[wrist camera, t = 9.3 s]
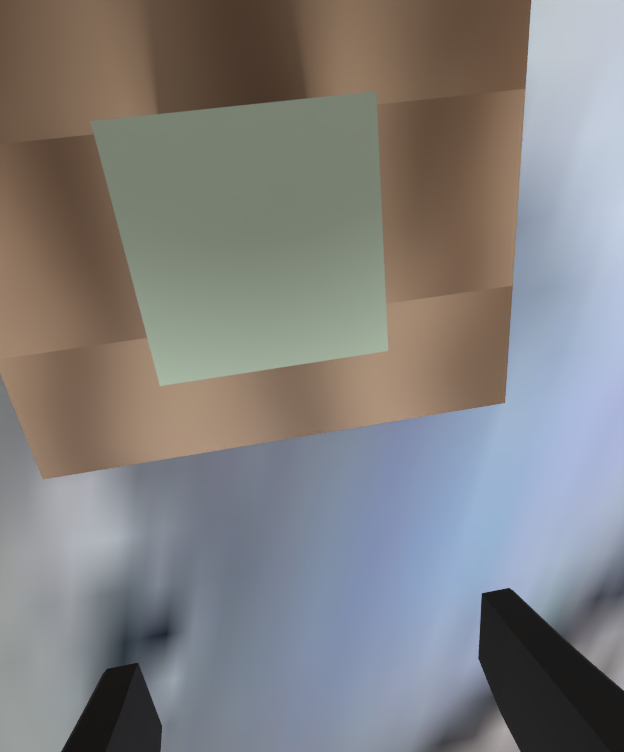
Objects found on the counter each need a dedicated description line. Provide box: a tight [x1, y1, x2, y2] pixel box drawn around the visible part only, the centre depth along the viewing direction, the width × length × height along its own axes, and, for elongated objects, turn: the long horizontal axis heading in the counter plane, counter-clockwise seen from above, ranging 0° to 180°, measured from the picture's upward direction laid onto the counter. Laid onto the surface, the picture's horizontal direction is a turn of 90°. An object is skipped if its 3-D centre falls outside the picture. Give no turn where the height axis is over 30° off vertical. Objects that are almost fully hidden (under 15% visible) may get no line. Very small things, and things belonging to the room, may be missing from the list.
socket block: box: [0, 0, 531, 479], centre depth 15 cm, size 16×14×3 cm
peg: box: [91, 91, 388, 386], centre depth 12 cm, size 4×4×9 cm
